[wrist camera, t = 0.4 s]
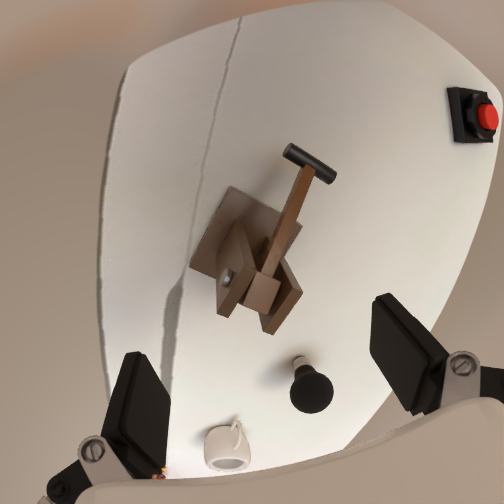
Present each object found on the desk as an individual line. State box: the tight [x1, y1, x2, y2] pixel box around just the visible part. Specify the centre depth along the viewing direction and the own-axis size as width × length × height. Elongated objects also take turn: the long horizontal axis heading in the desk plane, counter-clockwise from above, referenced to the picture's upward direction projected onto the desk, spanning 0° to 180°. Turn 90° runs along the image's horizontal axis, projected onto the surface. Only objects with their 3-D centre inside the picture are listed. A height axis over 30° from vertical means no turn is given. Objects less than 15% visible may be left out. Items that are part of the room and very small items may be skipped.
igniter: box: [447, 87, 496, 143], centre depth 27 cm, size 8×8×4 cm
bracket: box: [189, 186, 303, 335], centre depth 27 cm, size 10×9×13 cm
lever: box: [238, 143, 337, 315], centre depth 23 cm, size 14×5×2 cm, turn 150°
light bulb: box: [290, 357, 334, 414], centre depth 36 cm, size 6×6×10 cm
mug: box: [204, 420, 251, 472], centre depth 42 cm, size 12×8×8 cm
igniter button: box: [478, 104, 499, 130], centre depth 25 cm, size 4×4×2 cm
